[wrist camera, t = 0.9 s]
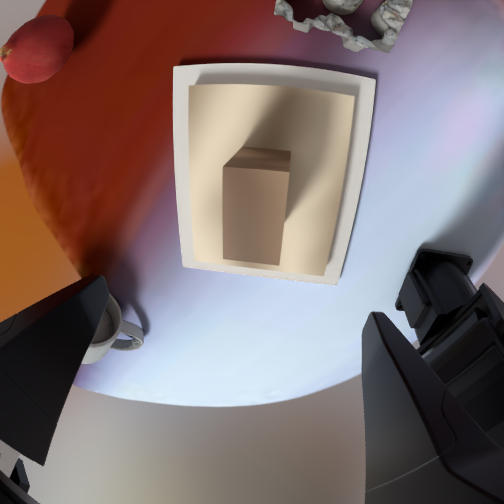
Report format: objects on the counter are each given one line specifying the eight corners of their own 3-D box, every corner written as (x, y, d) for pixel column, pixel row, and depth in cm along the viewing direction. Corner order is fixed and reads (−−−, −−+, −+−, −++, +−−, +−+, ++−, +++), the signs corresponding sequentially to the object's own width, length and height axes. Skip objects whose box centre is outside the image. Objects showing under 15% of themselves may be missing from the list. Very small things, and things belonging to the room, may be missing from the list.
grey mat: (373, 80, 14) (375, 79, 13) (336, 281, 22) (337, 285, 22) (177, 67, 15) (173, 66, 15) (185, 262, 24) (183, 266, 23)
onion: (41, 68, 15) (-25, 80, 8) (67, 13, 12) (-1, 10, 5) (75, 87, 16) (1, 102, 9) (105, 26, 13) (30, 18, 6)
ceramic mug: (73, 307, 31) (45, 347, 25) (80, 270, 27) (42, 316, 20) (137, 349, 33) (116, 395, 27) (156, 321, 29) (130, 376, 23)
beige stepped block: (351, 96, 14) (378, 97, 9) (323, 268, 21) (328, 324, 16) (194, 85, 15) (150, 85, 10) (198, 253, 22) (171, 303, 17)
